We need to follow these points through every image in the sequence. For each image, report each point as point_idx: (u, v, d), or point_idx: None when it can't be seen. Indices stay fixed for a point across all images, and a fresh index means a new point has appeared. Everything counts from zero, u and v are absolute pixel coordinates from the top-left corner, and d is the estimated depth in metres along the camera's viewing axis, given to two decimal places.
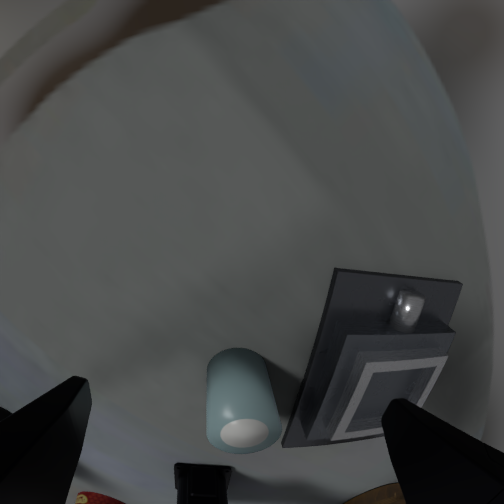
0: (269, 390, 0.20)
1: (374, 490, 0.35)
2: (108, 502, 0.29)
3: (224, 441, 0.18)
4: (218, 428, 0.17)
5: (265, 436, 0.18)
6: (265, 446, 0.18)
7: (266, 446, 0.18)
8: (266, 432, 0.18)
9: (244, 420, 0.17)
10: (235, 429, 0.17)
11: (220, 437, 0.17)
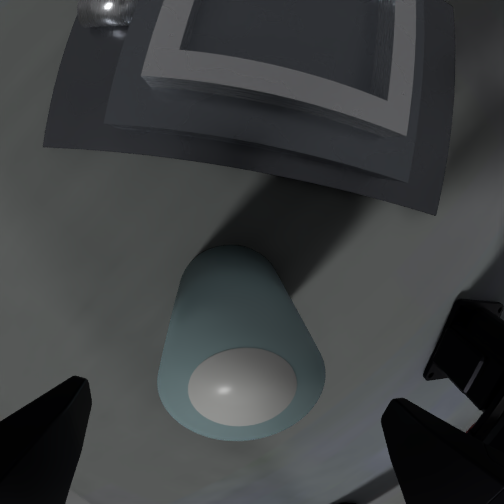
0: (194, 290, 0.10)
1: None
2: None
3: (265, 419, 0.09)
4: (219, 427, 0.09)
5: (261, 353, 0.08)
6: (307, 348, 0.08)
7: (307, 346, 0.08)
8: (246, 350, 0.08)
9: (192, 393, 0.08)
10: (224, 404, 0.08)
11: (247, 425, 0.09)
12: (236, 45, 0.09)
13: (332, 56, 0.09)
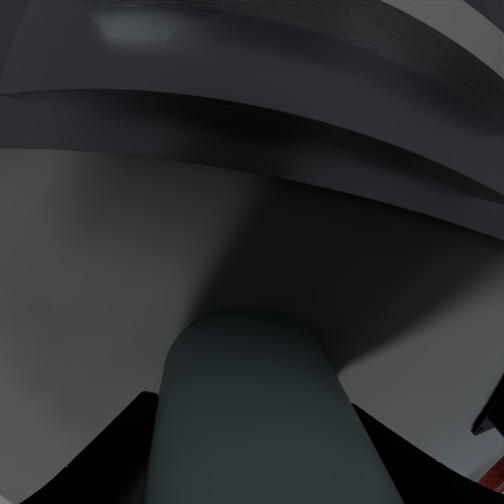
0: (185, 445, 0.04)
1: None
2: (497, 473, 0.17)
3: None
4: None
5: None
6: None
7: None
8: None
9: None
10: None
11: None
12: None
13: None
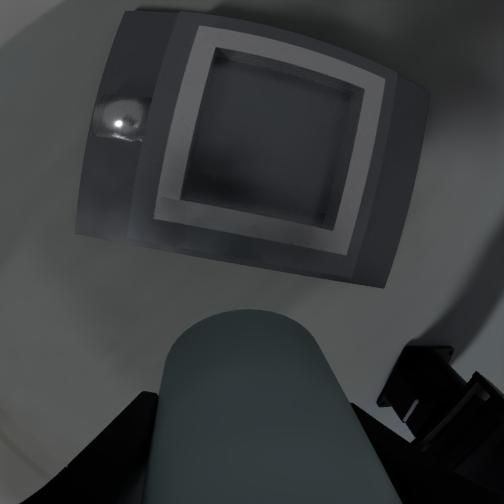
0: (184, 446, 0.04)
1: None
2: None
3: None
4: None
5: None
6: None
7: None
8: None
9: None
10: None
11: None
12: (222, 181, 0.14)
13: (297, 185, 0.15)
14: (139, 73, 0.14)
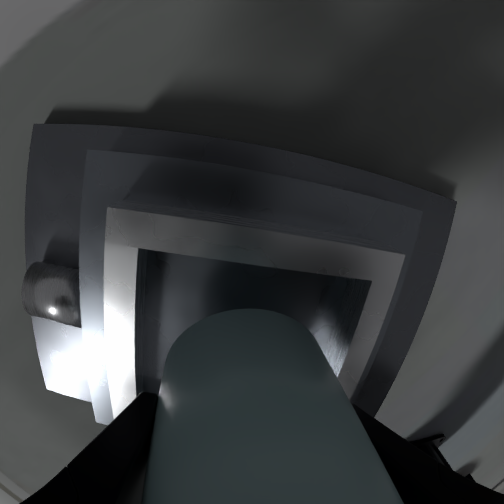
0: (184, 445, 0.04)
1: None
2: None
3: None
4: None
5: None
6: None
7: None
8: None
9: None
10: None
11: None
12: None
13: None
14: (65, 227, 0.11)
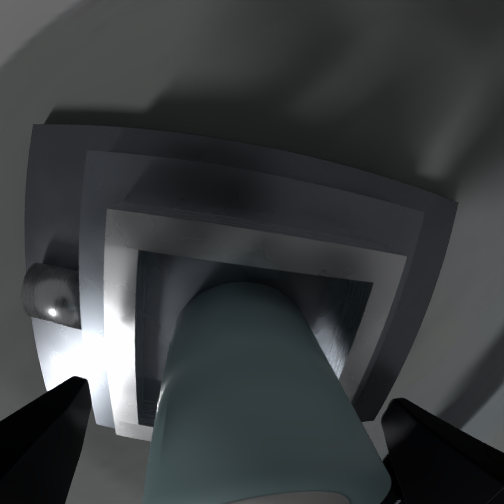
0: (190, 375, 0.06)
1: None
2: None
3: None
4: None
5: (305, 495, 0.04)
6: (374, 477, 0.04)
7: (376, 475, 0.04)
8: (282, 494, 0.04)
9: None
10: None
11: None
12: None
13: None
14: (65, 228, 0.11)
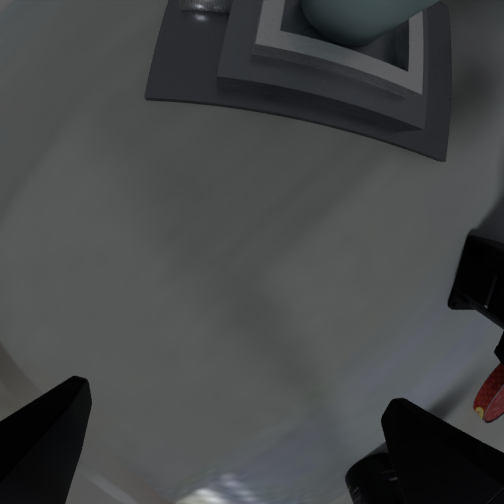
0: None
1: None
2: (490, 385, 0.26)
3: None
4: None
5: None
6: None
7: None
8: None
9: None
10: None
11: None
12: (308, 32, 0.13)
13: (369, 43, 0.13)
14: None
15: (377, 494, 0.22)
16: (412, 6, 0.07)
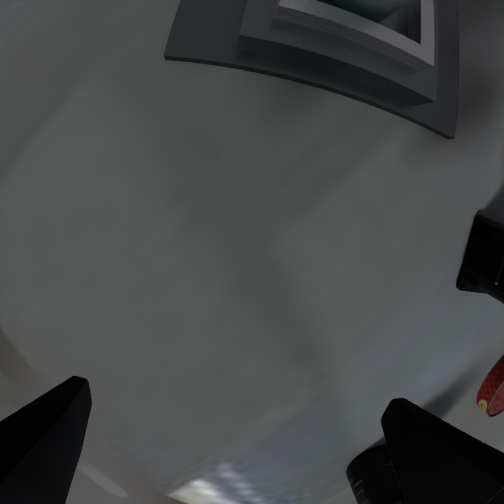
0: None
1: None
2: (494, 377, 0.26)
3: None
4: None
5: None
6: None
7: None
8: None
9: None
10: None
11: None
12: (326, 4, 0.12)
13: (383, 19, 0.12)
14: None
15: (381, 487, 0.21)
16: None
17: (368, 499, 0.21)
